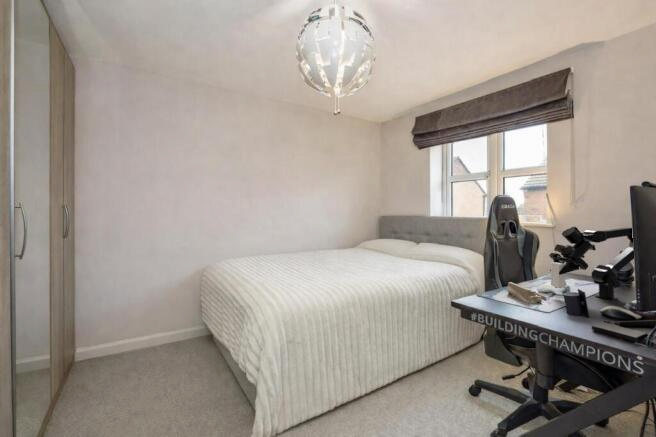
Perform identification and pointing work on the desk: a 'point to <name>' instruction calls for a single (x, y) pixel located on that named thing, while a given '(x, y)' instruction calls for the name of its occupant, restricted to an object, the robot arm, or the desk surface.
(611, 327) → the desk surface
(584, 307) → the speaker
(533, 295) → the offcut stack
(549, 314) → the desk surface
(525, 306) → the desk surface
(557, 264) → the cream rectangular block
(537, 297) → the rack
